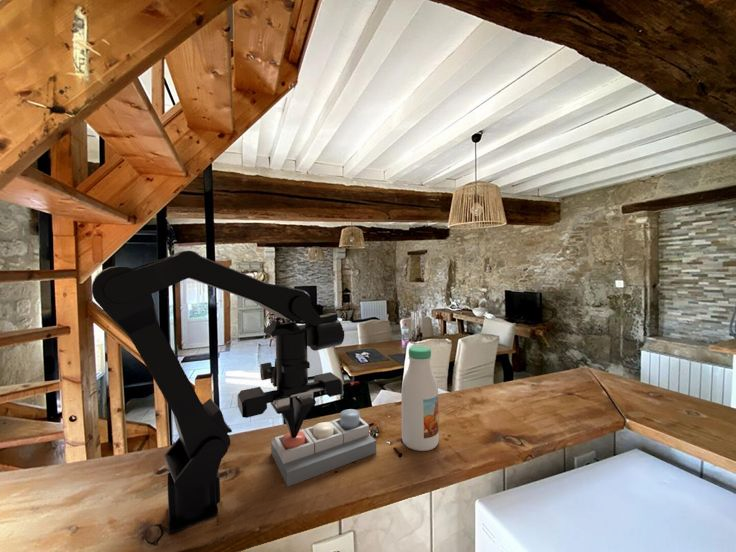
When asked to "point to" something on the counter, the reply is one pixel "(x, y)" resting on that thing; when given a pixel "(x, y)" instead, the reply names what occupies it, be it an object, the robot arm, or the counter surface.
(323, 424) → the button ivory
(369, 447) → the console
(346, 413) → the button blue
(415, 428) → the milk bottle
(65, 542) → the counter surface
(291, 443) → the button red
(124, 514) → the counter surface
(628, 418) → the counter surface
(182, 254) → the robot arm
